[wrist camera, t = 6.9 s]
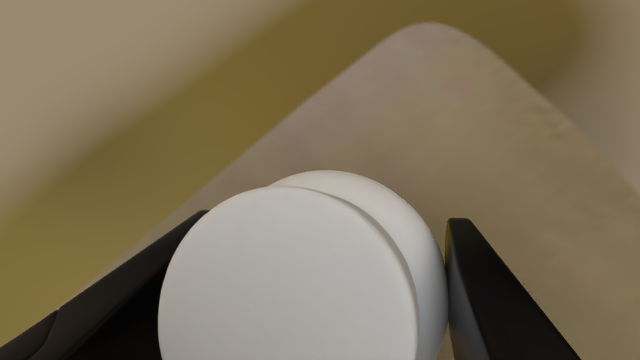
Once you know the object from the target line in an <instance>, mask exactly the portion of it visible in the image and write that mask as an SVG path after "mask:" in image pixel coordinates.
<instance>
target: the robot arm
mask: <svg viewBox="0 0 640 360" xmlns="http://www.w3.org/2000/svg"><path fill="white" fill-rule="evenodd" d="M209 211H210V210H201V211H199V212H197V213H196V214H194V215H193V216H191V217H190V218H188V219H187V220H186V221H184V222H183V223H181V224H180V225H178V226H177V227H175V228H174V229H173V230H171V231H170V232H168V233H167V234H165V235H164V236H163V237H161V238H160V239H158V240H157V241H155V242H154V243H152V244H151V245H150V246H148V247H147V248H145V249H144V250H142V251H141V252H139V253H138V254H136V255H135V256H134V257H132V258H131V259H129V260H128V261H126V262H125V263H123V264H122V265H121V266H119V267H118V268H116V269H115V270H113V271H112V272H110V273H109V274H108V275H106V276H105V277H103V278H102V279H100V280H99V281H97V282H96V283H95V284H93V285H92V286H90V287H89V288H87V289H86V290H84V291H83V292H82V293H80V294H79V295H77V296H76V297H74V298H73V299H71V300H70V301H69V302H67V303H66V304H64V305H63V306H61V307H60V308H59V310H55V311H54V312H53V313H51V314H50V315H48V316H47V317H45V318H44V319H42V320H41V321H40V322H38V323H37V324H35V325H34V326H32V327H31V328H29V329H28V330H26V331H25V332H23V333H22V334H20V335H19V336H17V337H16V338H14V339H13V340H11V341H10V342H8V343H7V344H5V345H4V346H2V347H0V360H162V356H161V351H160V346H159V338H158V312H159V301H160V295H161V289H162V285H163V282H164V279H165V275H166V272H167V269H168V266H169V264H170V262H171V259H172V257H173V255H174V253H175V251H176V249H177V248H178V246H179V244H180V243H181V241H182V240H183V238H184V237H185V236H186V234H187V233H188V231H189V230H190V229H191V228H192V227H193V226H194V225H195V224H196V223H197V222H198V221H199V219H200V218H201V217H203V216H204V215H205V214H206V213H208V212H209ZM445 268H446V275H447V282H448V322H449V329H450V336H451V341H452V347H453V353H454V359H455V360H581V359H580V357H579V356H578V355H577V354H576V352H575V351H574V350H573V349H572V347H571V346H570V345H569V344H568V342H567V341H566V340H565V339H564V337H563V336H562V335H561V334H560V332H559V331H558V330H557V328H556V327H555V326H554V325H553V323H552V322H551V321H550V320H549V318H548V317H547V316H546V315H545V313H544V312H543V311H542V310H541V308H540V307H539V306H538V305H537V303H536V302H535V301H534V300H533V298H532V297H531V296H530V295H529V293H528V292H527V291H526V290H525V288H524V287H523V286H522V285H521V283H520V282H519V281H518V280H517V278H516V277H515V276H514V274H513V273H512V272H511V271H510V269H509V268H508V267H507V266H506V264H505V263H504V262H503V261H502V259H501V258H500V257H499V256H498V254H497V253H496V252H495V251H494V249H493V248H492V247H491V246H490V244H489V243H488V242H487V241H486V239H485V238H484V237H483V236H482V234H481V233H480V232H479V231H478V229H477V228H476V227H475V226H474V224H473V223H472V222H471V221H470V220H469V219H467V218H450V219H448V221H447V230H446V240H445Z"/></svg>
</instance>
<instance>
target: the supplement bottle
mask: <svg viewBox="0 0 640 360" xmlns="http://www.w3.org/2000/svg"><path fill="white" fill-rule="evenodd" d="M447 323H448V282H447V275H446V269H445V265H444V261H443V258H442V255H441V252H440V249H439V246H438V244H437V242H436V240H435V238H434V236H433V234H432V232H431V231H430V229H429V227H428V226H427V224H426V223H425V221H424V220H423V218H422V217H421V216H420V215H419V214H418V213H417V212H416V210H415V209H414V208H413V207H412V206H411V205H410V204H409V203H408V202H406V201H405V200H404V199H403V198H402V197H400V196H399V195H397V194H396V193H395V192H393V191H392V190H390V189H389V188H387V187H385V186H384V185H382V184H380V183H378V182H376V181H374V180H372V179H369V178H367V177H364V176H361V175H357V174H353V173H349V172H344V171H335V170H318V171H309V172H303V173H298V174H295V175H291V176H288V177H286V178H283V179H281V180H279V181H277V182H275V183H273V184H271V185H269V186H268V187H261V188H257V189H253V190H249V191H245V192H243V193H240V194H238V195H235V196H233V197H231V198H229V199H227V200H225V201H223V202H222V203H220V204H218V205H217V206H215V207H214V208H213V209H212V210H210V211H209V212H208V213H206V214H205V215H204V216H203V217H201V218H200V219H199V221H198V222H197V223H196V224H195V225H194V226H193V227H192V228H191V229H190V230H189V231H188V233H187V234H186V236H185V237H184V238H183V240H182V241H181V243H180V244H179V246H178V248H177V249H176V251H175V253H174V255H173V257H172V259H171V262H170V264H169V266H168V269H167V272H166V275H165V279H164V282H163V285H162V289H161V295H160V301H159V312H158V338H159V346H160V351H161V356H162V360H436V358H437V356H438V354H439V352H440V349H441V347H442V344H443V341H444V337H445V333H446V328H447Z"/></svg>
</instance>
